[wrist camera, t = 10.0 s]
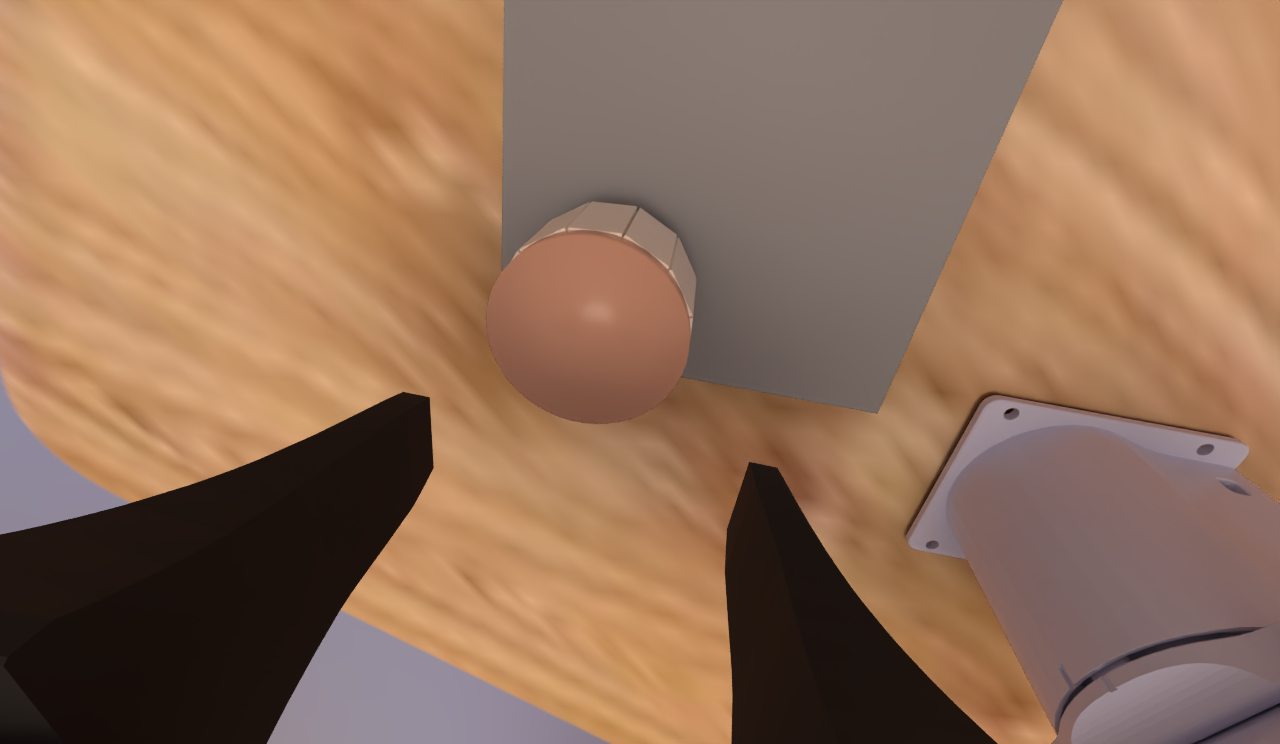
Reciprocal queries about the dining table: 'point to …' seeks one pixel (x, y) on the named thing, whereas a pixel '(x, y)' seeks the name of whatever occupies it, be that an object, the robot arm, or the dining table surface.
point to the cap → (595, 314)
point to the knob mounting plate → (772, 159)
